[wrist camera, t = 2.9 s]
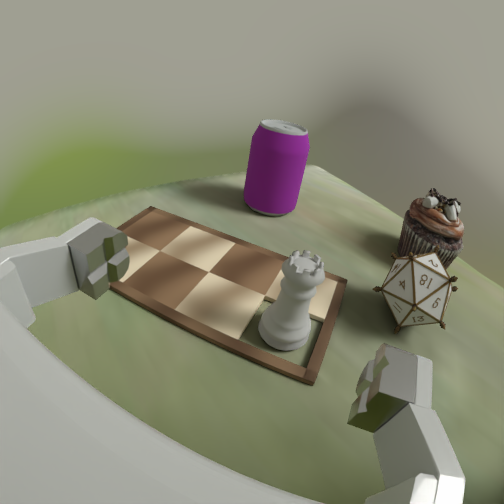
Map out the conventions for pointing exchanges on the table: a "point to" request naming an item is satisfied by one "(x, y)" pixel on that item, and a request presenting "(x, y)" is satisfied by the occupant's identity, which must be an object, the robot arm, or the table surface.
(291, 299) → the rook chess piece
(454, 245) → the cupcake
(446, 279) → the game die
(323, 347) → the board
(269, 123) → the beverage can
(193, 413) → the table surface
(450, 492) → the robot arm
